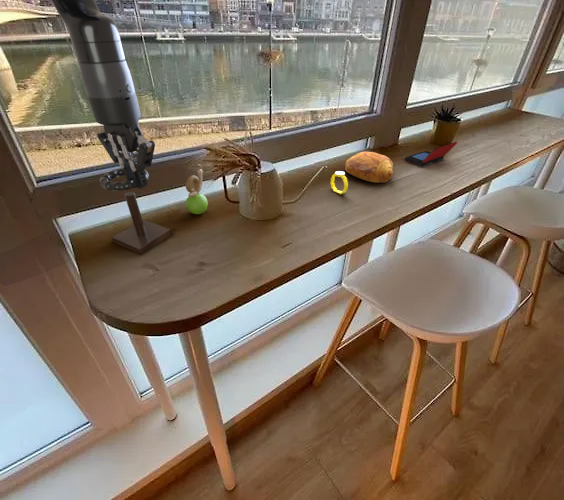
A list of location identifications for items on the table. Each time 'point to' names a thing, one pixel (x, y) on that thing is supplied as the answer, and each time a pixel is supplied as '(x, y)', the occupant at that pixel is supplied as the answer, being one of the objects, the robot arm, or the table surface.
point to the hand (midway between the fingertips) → (138, 185)
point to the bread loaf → (370, 167)
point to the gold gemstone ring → (342, 175)
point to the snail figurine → (196, 194)
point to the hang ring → (118, 185)
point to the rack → (140, 230)
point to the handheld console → (430, 155)
